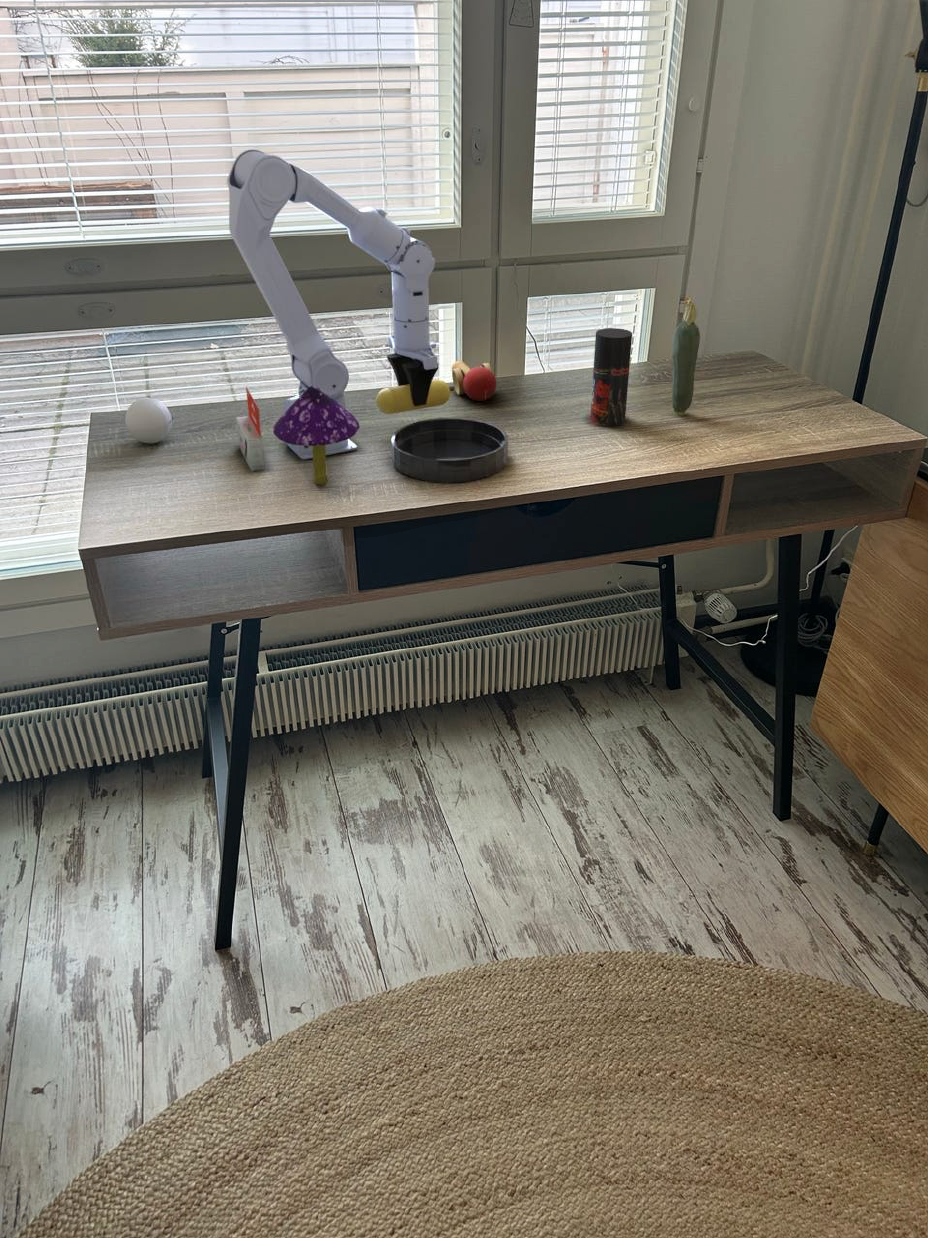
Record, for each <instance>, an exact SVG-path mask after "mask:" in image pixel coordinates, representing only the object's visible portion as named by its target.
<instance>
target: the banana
mask: <svg viewBox="0 0 928 1238" xmlns="http://www.w3.org/2000/svg"><path fill="white" fill-rule="evenodd" d="M451 392H456V390H455V387H454V385H448V383H446V382H445V381H443V380H441V379H433V380H432V382H431V386H430V389H429V394H428V399H427V403H426V405H421V406H414V405H413V402H412V398H411V391H410V385H409V384H408V385H402V386H398V385H397V386H390V387H385V388H383V389H381V390H380V391H379V392H378V393H377V394H376V398H375V404H376V407H377V409H378V410H379V411H380V412H382V413H384V414H385V415H392V414H399V413H404V412H410V411H415V410H422V409H427V408H432V407H439V406H443V405H445V404H446V403H448V401H449V399H450V397H451Z"/></svg>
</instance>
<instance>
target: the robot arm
mask: <svg viewBox="0 0 928 1238" xmlns="http://www.w3.org/2000/svg"><path fill="white" fill-rule="evenodd" d="M226 182H227V186H228V193H229V195H228V196H229V198H228V199H229V202H228V203H229V205H228V207H229V208H228V209H229V210H228V211H229V212H228V215H229V216H228V228H229V234H230V236H231V238H232V240H233V242H234V244H235V245H236V247H237V249H238V251H239V253H240V255H241V257H242V259H243V261H244V262H245V264H246V267H247V269H248V271H249V272H250V275H251V276H252V278H253V280H254V281H255V284H256V286H257V287H258V289H259V291H260V293H261V295H262V297H263V299H264V301H265V302H266V304H267V307H268V308H269V310H270V312H271V314H272V316H273V318H274V320H275V322H276V323H277V325H278V327H279V329H280V331H281V333H282V335H283V337H284V338H285V341H286V349H287V351H288V353H289V356H290V362H291V363H290V367H291V370H292V373H293V375H294V377H295V378H296V379H297V380H298V381H299V386H298V390H297V395H294V396H293V397H289V398H286V399H285V400H284V403H283V412H284V413H285V412H286V411H287V410H288V408H289V407H290V406H291V405H292V404H293V403H294V402H295V401H296V400H297V399H298V398H299V397H300V396H301V395H302V394H303V393H304V392H305V391H306V390H307V388H309V387H310V386H316V387H318V388H319V389H321V390H322V391H323V392H324V393H325V394H326V395H328V396H329V397H331V398H333V399H334V400H336V401H337V402H338V403H339V404H340V405H341V406H342V407H343V408H344V409H346V408H347V407H346V398H345V397H346V394H345V390H346V389H347V387H348V384H349V380H350V374H349V370H348V367H347V365H346V364H345V363H344V362H343V361H342V360H340V359H339V358H338V357H336V356H335V355H334V352H333V351H332V349H331V347H330V346H329V343H327V342H326V340H325V339H324V338H323V336H322V335H321V333H320V332H319V330H318V328H317V326H316V324H315V323H314V320H313V318H312V316H311V313H310V312H309V310H308V308H307V306H306V305H305V302H304V300H303V298H302V296H301V294H300V291H299V290H298V288H297V286H296V284H295V282H294V280H293V278H292V276H291V274H290V272H289V270H288V268H287V266H286V264H285V262H284V260H283V258H282V256H281V254H280V252H279V250H278V248H277V247H276V244H275V242H274V239H273V238H272V236H271V231H272V228H273V226H274V223H275V221H276V217H277V216H278V215H279V214H280V213H281V211H282V210H283V208H285V206H286V205H287V203H288V202H291V203H294V204H302V203H306V204H308V205H309V206H311V207H312V208H314V209H316V210H317V211H319V212H320V213H322V214H324V216H327V217H329V218H330V219H331V220H333V221H334V222H336V223H338V224H340V225H341V226H343V227H344V228H346V230H347V233H348V237H349V240H350V242H351V243H352V244H354V245H355V246H356V247H358V248H359V249H361V250H363V251H364V252H365V253H367V254H368V255H370V256H371V257H373V258H375V259H376V260H378V261H379V262H381V263H382V264H384V265H385V266H386V268H387V269H388V270H389V271H391V293H392V319H393V334H391V335H388V347H389V348H390V349H392V350H393V352H394V353H390V354H387V355H386V358H387V361H388V363H389V364H390V366H391V368H392V370H393V372H394V376H395V378H396V382H397V386H402V385H408V384H409V385H410V391H411V398H412V402H413V405H414V406H421V405H426V403H427V399H428V394H429V389H430V386H431V382H432V381H433V380H434V377H435V375H436V374H437V372H438V370H439V367H440V365H439V363H438V356H437V354H435V352H434V349H436V348H437V343H436V342H434V341H433V340H431V337H430V291H429V290H430V289H429V288H430V287H429V278H430V276H431V274H432V272H433V271H434V269H435V265H436V258H434V257H433V252H432V251H431V248H430V247H429V245H428V244H427V243H425V241H422V240H419V239H416V238H414V237H412V236H410V234H411V230H410V229H408V228H407V227H405V226H402V227H400V226H398V225H397V224H396V223H395V222H393V221H391V220H390V219H389V218H387V217H386V216H387V215H388V214H387V212H386V211H385V210H384V209H383V208H380V207H376V208H373V207H371V206H367V207H363V208H360V209H358V208H357V207H356V206H354V205H353V204H352V203H350V202H349V201H348V200H347V199H345V198H344V197H342V195H340V194H339V193H338V192H336V191H335V190H333V189H332V188H331V187H329V186H328V185H327V184H325V183H324V182H322V181H321V180H320V179H319V178H317V177H316V176H315V175H313V174H312V173H310V172H309V171H307V170H305V169H303V168H301V167H299V166H297V165H294V164H292V163H289V162H288V161H286V160H285V159H284V158H282V157H280V156H278V155H274V154H272V155H271V154H267V153H265V152H263V151H261V150H258V149H247V150H246V149H245V150H244V151H242V152H241V153H239V155H237V157H236V158H235V159H234V161H233V164H232V167H231V169H230V172H229V173H228V176H227V179H226ZM346 410H347V409H346ZM284 413H283V414H284ZM286 445H287V446H288V447H289V449H291V450H292V451H293V452H294V453H295V454H296V455H297V456H298V457H299V459H301V460H309V459H313V446H302V445H294V444H289V443H286ZM355 450H358V446H357V444H355V443H354V442H353V441H352V440H350V438H349V439H347V440H344V441H341V442H338V443H334V444H328V445H326V450H325V451H326V456H330V455H335V454H336V455H337V454H340V453H345V452H351V451H355Z"/></svg>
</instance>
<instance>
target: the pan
mask: <svg viewBox="0 0 928 1238" xmlns="http://www.w3.org/2000/svg"><path fill="white" fill-rule="evenodd" d="M390 443H391V460H392V464H393V466H394V468H396V469H397V470H398V471H399V472H401V473H403V474H404V475H407V476H409V477H411V478H413V479H417V480H420V481H425V482H427V481H428V482H432V483H446V484H447V483H465V482H472V481H477V480H481V479H483V478H487V477H490V476H492V475H494V474H496V473H497V472H499V471H501V470H502V469H504V467H505V466H506V465H507V463H508V459H509V458H508V454H509V453H508V452H509V435H508V434H507V432H506V431H505V430H504V429H502V428H501V427H500V426H498V425H495V424H493V423H491V422H489V421H484V420H479V419H474V418H465V417H464V418H463V417H437V418H429V419H424V420H419V421H415V422H412V423H409V424H406V425H404V426H402V427H400V428H398V429H397V430H396V431H395V432H394V433H393V434H392V437H391V440H390Z"/></svg>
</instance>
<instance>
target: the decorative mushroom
mask: <svg viewBox="0 0 928 1238" xmlns="http://www.w3.org/2000/svg"><path fill="white" fill-rule="evenodd" d="M360 428H361V426H360V422H359V421H358V420H357V418H356V417H355V415H354V414H352V413H351V412H349V411H348V410H347V409H344V408H343V407H342V406H341V405H340V404H339V403H338V402H337V401H336V400H334V399H333V398H331V397H329V396H328V395H326V394H325V393H324V392H323V391H322V390H321V389H319V388H318V387H316V386H310V387H309V388H307V390H306V391H305V392H304V393H303V394H302V395H301V396H300V397H299V398H298V399H297V400H296V401H295V402H294V403H293V404H292V405H291V406H290V407H289V408H288V410H287V411H286V412H285V413H283V414H282V415H281V417H280V418H279V419H277V421H276V422H275V424H274V426H273V428H272V433H273V435H274V436H275V437H276V438H277V439H278V440H280V441H282V442H284V443H286V444H287V443H289V444H294V445H302V446H313V458H312V465H313V479H314V482H315V484H316V485H318V486H324V485H326V484H327V483H328V481H329V478H328V472H327V455H326V451H325V450H326V445H328V444H334V443H338V442H341V441H344V440H347V439H349V440H350V439H351V438H352V437H354V436H355V435H356V433H358V431H359V430H360Z"/></svg>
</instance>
